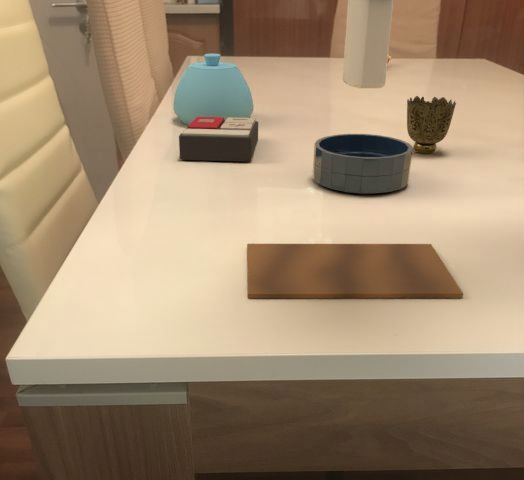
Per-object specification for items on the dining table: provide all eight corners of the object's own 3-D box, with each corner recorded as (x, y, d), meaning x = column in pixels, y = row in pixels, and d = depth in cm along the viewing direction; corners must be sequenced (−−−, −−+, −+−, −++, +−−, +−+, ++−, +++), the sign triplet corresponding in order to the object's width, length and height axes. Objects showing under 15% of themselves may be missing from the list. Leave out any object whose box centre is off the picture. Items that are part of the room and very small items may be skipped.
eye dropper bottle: (394, 80, 58) (411, -79, 52) (380, 91, 54) (398, -82, 47) (347, 77, 59) (358, -79, 53) (330, 87, 55) (341, -82, 49)
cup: (446, 147, 107) (454, 96, 103) (449, 159, 101) (458, 105, 96) (400, 145, 108) (407, 94, 104) (401, 156, 102) (407, 103, 97)
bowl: (397, 168, 96) (401, 133, 93) (417, 196, 85) (422, 158, 82) (309, 167, 96) (310, 133, 93) (317, 196, 84) (320, 158, 82)
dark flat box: (258, 116, 108) (251, 132, 95) (258, 142, 110) (251, 161, 97) (194, 114, 109) (177, 130, 96) (195, 140, 111) (179, 159, 98)
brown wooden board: (430, 248, 70) (431, 243, 70) (462, 298, 60) (463, 293, 59) (247, 247, 69) (247, 243, 69) (247, 298, 59) (247, 293, 59)
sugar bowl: (255, 129, 116) (256, 59, 110) (172, 129, 115) (168, 59, 109) (251, 112, 129) (251, 48, 123) (176, 112, 128) (172, 48, 122)
